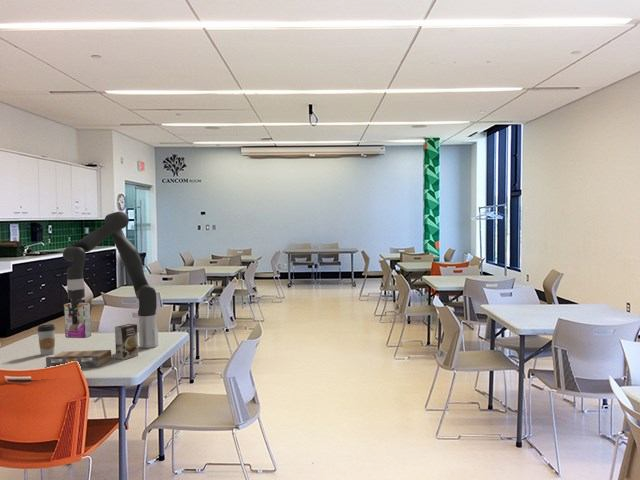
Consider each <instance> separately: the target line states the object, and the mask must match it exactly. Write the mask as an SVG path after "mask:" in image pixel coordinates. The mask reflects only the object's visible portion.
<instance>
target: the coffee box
mask: <svg viewBox="0 0 640 480" xmlns="http://www.w3.org/2000/svg"><path fill="white" fill-rule="evenodd" d="M114 335H115V336H114V337H115V341H114V342H115V358H116V359H117V360H124V361H125V360H127V359H133V358H135V357H138V356H139V333H138V324H134V323H127V324H122V325H117V326H114Z"/></svg>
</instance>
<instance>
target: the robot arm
mask: <svg viewBox="0 0 640 480" xmlns="http://www.w3.org/2000/svg"><path fill="white" fill-rule="evenodd" d="M129 220H130V219H129V216H128V214H127V213H126V212H124V211H116V212H112V213H108V214H107V215H106V216H105V217H104V224H103V225H101V226H100V227H98V228H96V229H95V230H92V231H91V232H90V233H88V234H87V235H85V236H84V237H83V238H80V240H79V241H76V242H75V243H73V244H70V245H69V246H67V247H66V248H65V249H64V250H63V251H62V252H63V253H62V257H63V259H64V260H65V261H67V262H72V264H71V266H69V267H68V268H67V270H66V275H67V276H66V278H67V279H66V280H67V281H66V283H67V284H66V287H67V289H66V290H67V299H69V300H70V303H71V304H68V303H67V304H68V310H69V316H71V317H72V324H77V323H78V321H77V312H78V308H77V309H76V310H75V308H76V307H77V305H78V304H80V303H86V300H85V299H84V298H85V297H86V294H85V293H86V291H85V280H84V267H85V263H86V258H87V257H86V255H87V254H86V253H89V252H91V251H92V250H93V249H95V248H96V247H97V246H98V245H100V244H101V243H103V242H104V241H105V240H106V239H107V238H109V237H111V238H112V240H113V243H114V245H115V247H116V250H117V252H118V254H119V256H120V259H121V262H122V264H123V266H124V269H125V270H126V272H127V274H128V276H129V278H130V280H131V283H132V286H133V290H134V293H135V297H136V298H137V300H138V310H137V320H138V321H137V322H138V324H137V326H138V346H139V348H141V349H152V348H156V347H157V346H159V328H158V327H157V309H158V308H157V305H158V304H157V300H158V299H157V292H156V289H155V288H154V287H153V286H151V285H150V284H149V282H148V280H147V279H146V277H145V273H144V267H143V261H142V259H141V256H140V253H139V251H138V249H137V247H135V245H134V244H133V243H132V242H131V241H130V240H129V239H128V238H127V237H126V236H125V234H124V231H123V229H125V228H126V227H127V226H128V225H129V222H130V221H129Z"/></svg>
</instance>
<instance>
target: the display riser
mask: <svg viewBox="0 0 640 480" xmlns="http://www.w3.org/2000/svg"><path fill="white" fill-rule="evenodd" d="M111 359H112V350H111V349H98V350H97V349H96V350H73V351H72V350H70V351H62V352H60V353H58V354H56V355H54V356H46V357H45V364H46V366H45V367H50V366H56V365H60V364H65V363H68V362H71V361H78V362H79V364H80V366H81V367H82V368H81V369H86V368H87V369H89V368H91V369H92V368H99V367H100V366H102V365H103V364H105V363H106V362H108V361H109V360H111Z"/></svg>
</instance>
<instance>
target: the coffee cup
mask: <svg viewBox="0 0 640 480" xmlns="http://www.w3.org/2000/svg"><path fill="white" fill-rule="evenodd" d="M55 330H56V327H55V325H54V324H50V323H49V324H42V325H38V327H37V336H38V344H39V350H40V355H41V356H44V357H45V356H51V355H55V354H54V353H55V346H56V345H55V344H56V342H55V341H56V337H55V335H56V331H55Z"/></svg>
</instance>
